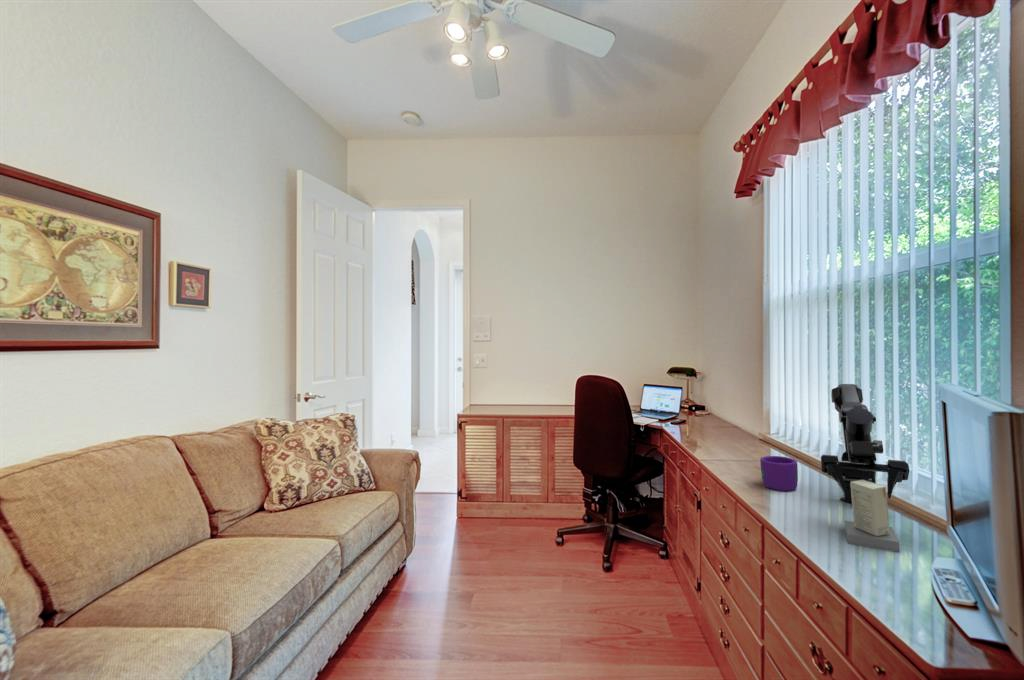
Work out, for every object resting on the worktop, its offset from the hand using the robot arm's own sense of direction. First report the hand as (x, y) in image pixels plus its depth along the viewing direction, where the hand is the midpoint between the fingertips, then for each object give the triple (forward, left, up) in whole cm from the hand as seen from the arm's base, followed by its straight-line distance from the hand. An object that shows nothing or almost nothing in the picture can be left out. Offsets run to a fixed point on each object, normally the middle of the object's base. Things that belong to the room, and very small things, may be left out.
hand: (866, 495), depth 114 cm
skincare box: (+2, +2, -8) cm, 9 cm away
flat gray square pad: (+2, +1, -11) cm, 12 cm away
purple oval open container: (-13, -42, -11) cm, 45 cm away
